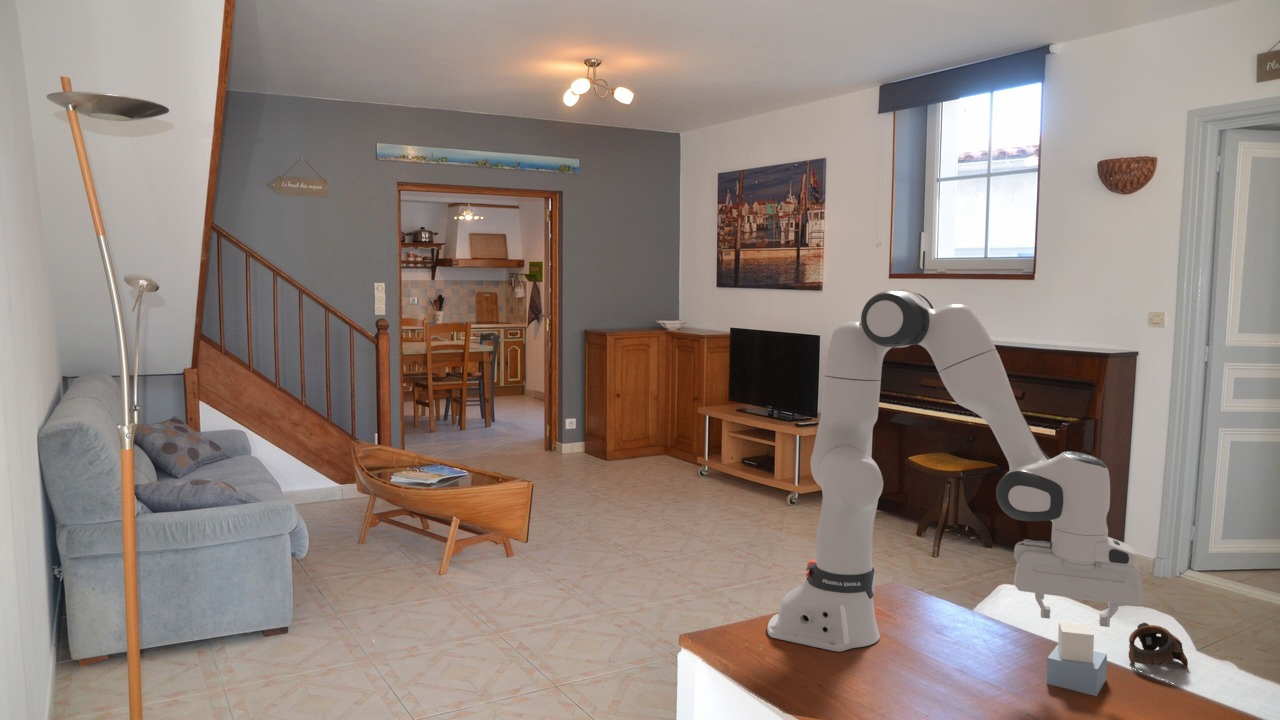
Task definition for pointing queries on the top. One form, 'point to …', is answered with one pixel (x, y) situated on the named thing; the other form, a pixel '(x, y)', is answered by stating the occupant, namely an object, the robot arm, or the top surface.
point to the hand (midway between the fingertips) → (1074, 621)
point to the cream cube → (1075, 642)
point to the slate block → (1077, 673)
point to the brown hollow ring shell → (1155, 646)
